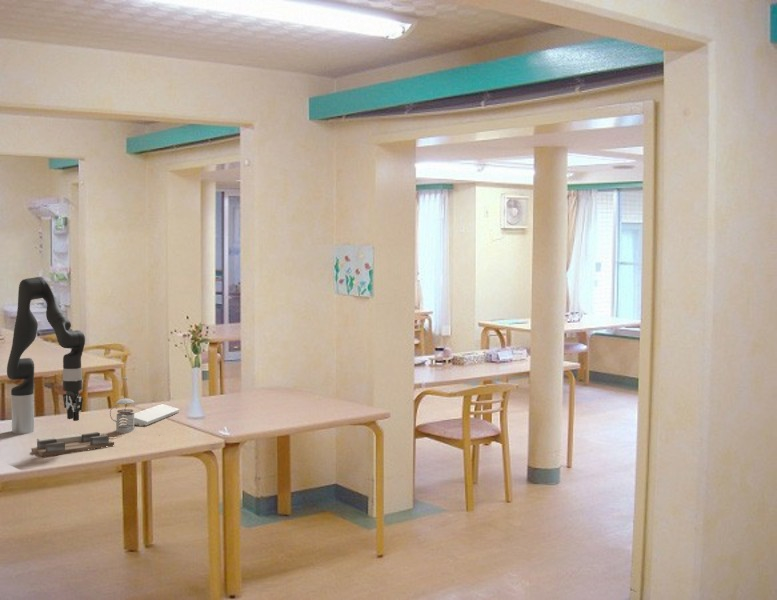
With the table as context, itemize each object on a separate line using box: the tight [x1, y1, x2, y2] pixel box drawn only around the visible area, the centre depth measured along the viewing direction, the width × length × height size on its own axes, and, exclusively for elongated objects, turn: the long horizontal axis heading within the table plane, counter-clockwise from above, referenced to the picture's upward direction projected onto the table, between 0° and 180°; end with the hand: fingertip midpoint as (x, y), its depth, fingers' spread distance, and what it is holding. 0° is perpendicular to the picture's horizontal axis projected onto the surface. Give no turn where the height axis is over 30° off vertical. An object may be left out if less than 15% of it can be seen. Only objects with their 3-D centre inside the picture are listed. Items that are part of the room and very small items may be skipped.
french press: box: [109, 376, 136, 434], centre depth 404 cm, size 10×12×25 cm
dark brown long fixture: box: [31, 431, 115, 458], centre depth 369 cm, size 12×30×4 cm, turn 135°
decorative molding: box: [127, 403, 180, 427], centre depth 432 cm, size 34×5×10 cm
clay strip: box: [36, 432, 83, 443], centre depth 376 cm, size 4×18×6 cm
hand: (73, 419), depth 368 cm, fingers open, 5 cm apart
